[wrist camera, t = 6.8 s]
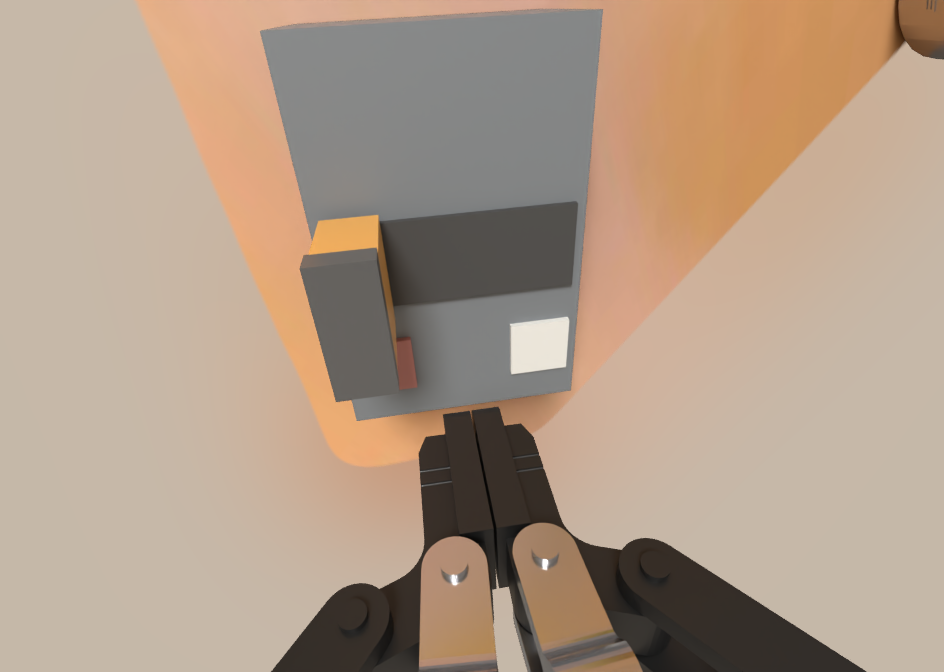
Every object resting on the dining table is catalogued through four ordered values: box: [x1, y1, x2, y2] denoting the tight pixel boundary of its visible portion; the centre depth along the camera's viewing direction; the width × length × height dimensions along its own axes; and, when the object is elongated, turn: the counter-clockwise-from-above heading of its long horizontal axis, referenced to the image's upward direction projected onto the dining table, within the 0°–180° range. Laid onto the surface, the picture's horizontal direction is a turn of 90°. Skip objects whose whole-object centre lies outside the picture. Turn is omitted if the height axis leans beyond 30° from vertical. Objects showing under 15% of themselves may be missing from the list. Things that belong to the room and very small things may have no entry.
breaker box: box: [260, 9, 603, 421], centre depth 25 cm, size 12×18×8 cm, turn 3°
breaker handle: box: [300, 215, 400, 402], centre depth 19 cm, size 2×6×5 cm, turn 3°
